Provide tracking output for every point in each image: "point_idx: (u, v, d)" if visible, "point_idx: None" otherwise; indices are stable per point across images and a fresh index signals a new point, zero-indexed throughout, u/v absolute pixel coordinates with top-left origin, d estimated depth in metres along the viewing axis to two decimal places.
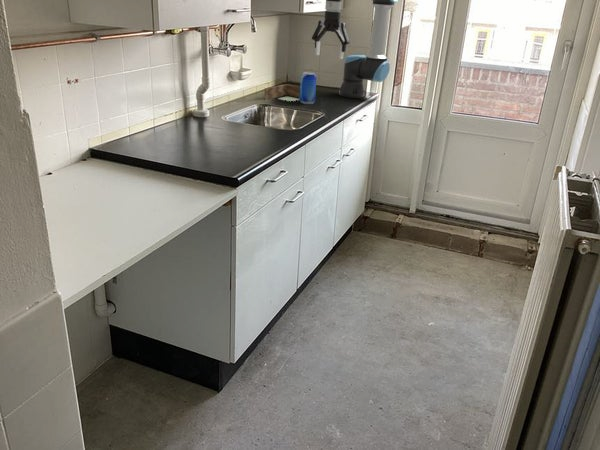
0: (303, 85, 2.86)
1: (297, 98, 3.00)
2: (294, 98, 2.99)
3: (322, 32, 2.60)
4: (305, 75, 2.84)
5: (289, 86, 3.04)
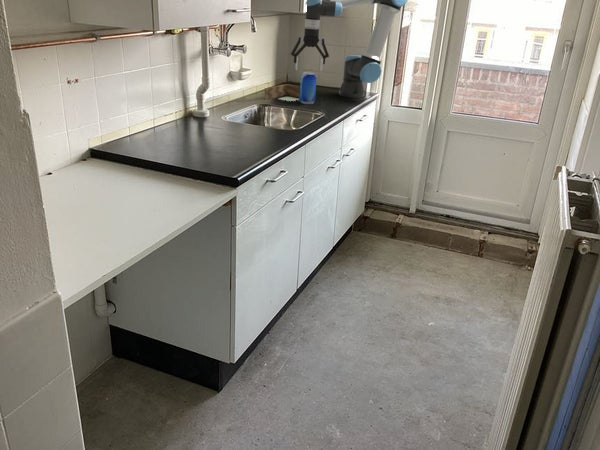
0: (303, 85, 2.86)
1: (297, 98, 3.00)
2: (294, 98, 2.99)
3: (303, 48, 2.79)
4: (305, 75, 2.84)
5: (289, 86, 3.04)
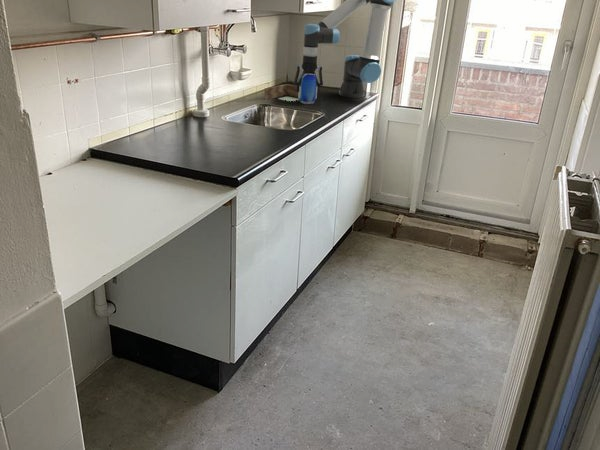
0: (303, 85, 2.86)
1: (297, 98, 3.00)
2: (294, 98, 2.99)
3: None
4: (305, 75, 2.84)
5: (289, 86, 3.04)
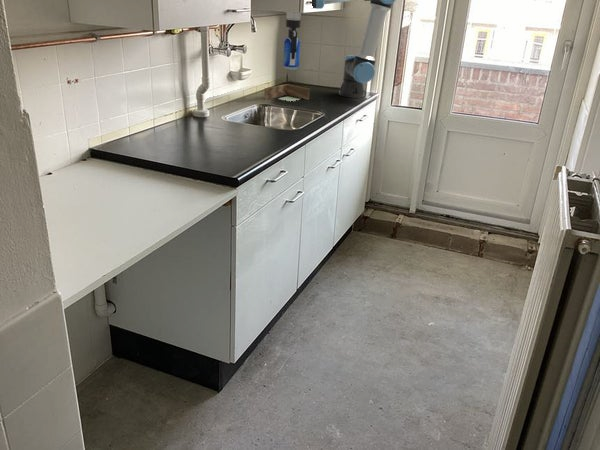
0: None
1: (297, 98, 3.00)
2: (294, 98, 2.99)
3: None
4: None
5: (289, 86, 3.04)
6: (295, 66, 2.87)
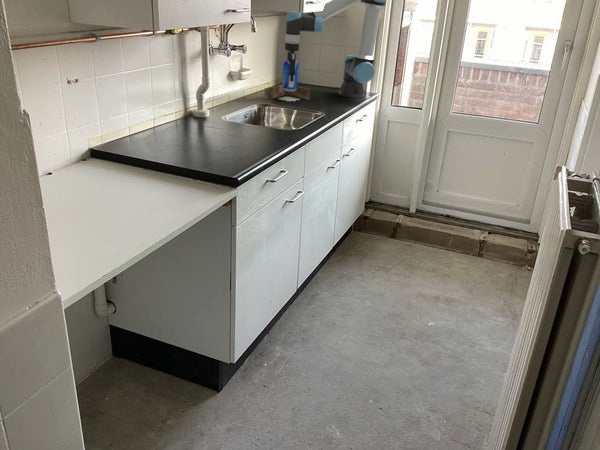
0: None
1: (297, 98, 3.00)
2: (294, 98, 2.99)
3: None
4: None
5: None
6: (294, 88, 2.92)
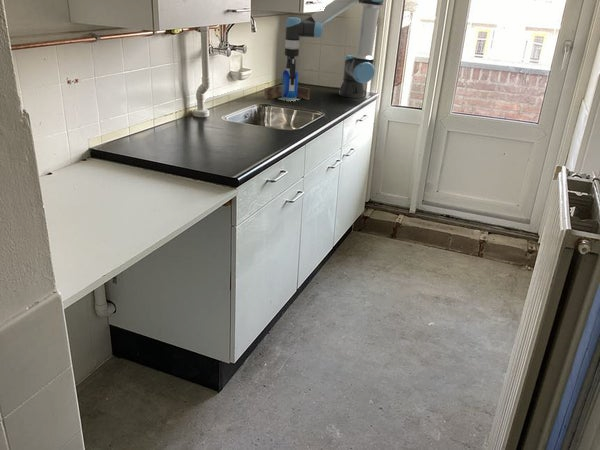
0: None
1: (297, 98, 3.00)
2: None
3: (287, 66, 2.94)
4: None
5: None
6: (293, 97, 2.94)
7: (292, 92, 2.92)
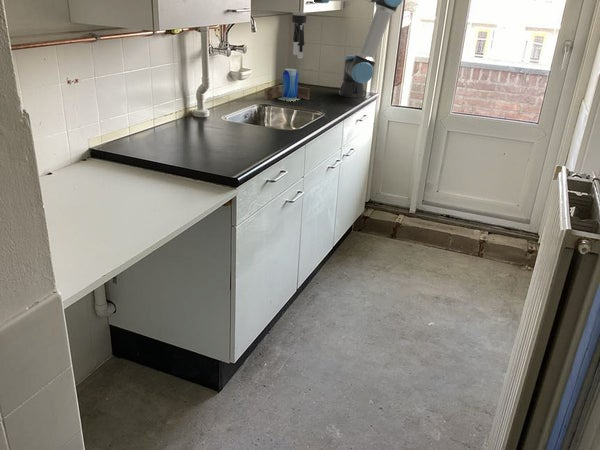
0: None
1: (297, 98, 3.00)
2: None
3: (295, 33, 2.89)
4: None
5: None
6: (293, 97, 2.94)
7: (292, 92, 2.92)
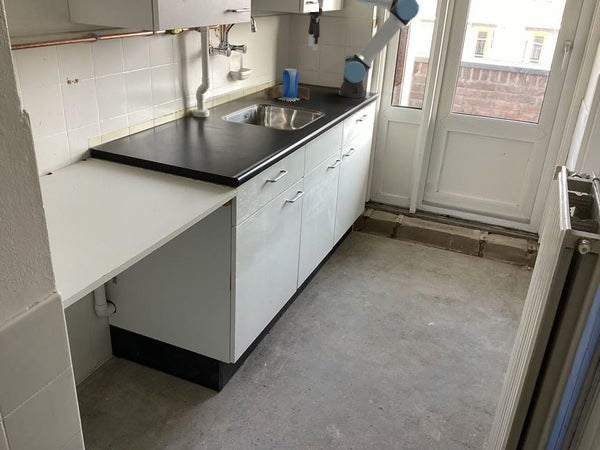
0: None
1: (297, 98, 3.00)
2: None
3: (310, 26, 2.95)
4: None
5: None
6: (293, 97, 2.94)
7: (292, 92, 2.92)
